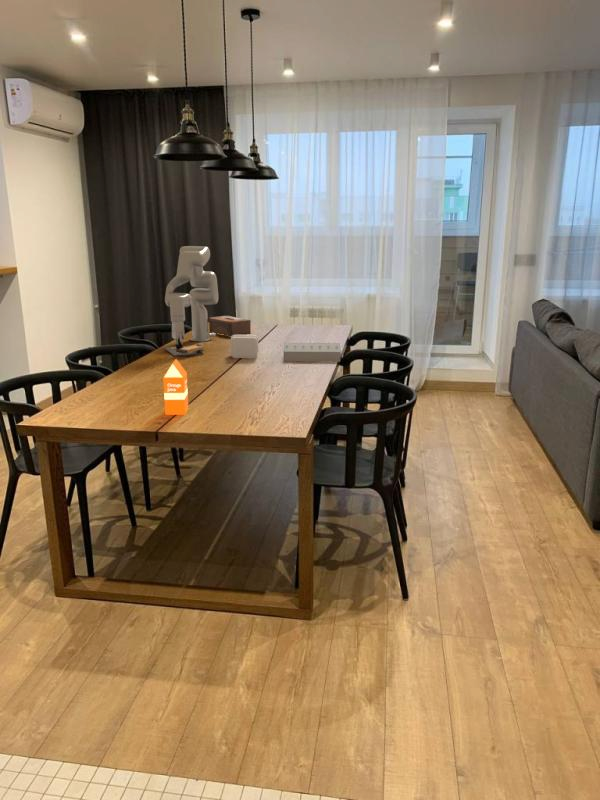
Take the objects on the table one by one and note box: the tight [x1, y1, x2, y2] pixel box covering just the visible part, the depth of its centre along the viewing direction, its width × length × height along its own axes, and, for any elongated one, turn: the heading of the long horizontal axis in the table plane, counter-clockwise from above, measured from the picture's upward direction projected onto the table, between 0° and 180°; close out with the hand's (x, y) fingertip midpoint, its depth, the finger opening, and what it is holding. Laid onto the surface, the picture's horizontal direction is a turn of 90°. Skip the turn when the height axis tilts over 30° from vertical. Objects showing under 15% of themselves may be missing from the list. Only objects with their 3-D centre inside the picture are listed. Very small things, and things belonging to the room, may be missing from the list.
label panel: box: [163, 345, 205, 358], centre depth 352 cm, size 18×24×2 cm
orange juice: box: [162, 358, 189, 416], centre depth 239 cm, size 8×9×20 cm
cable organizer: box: [230, 334, 259, 360], centre depth 338 cm, size 15×11×12 cm
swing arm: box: [176, 343, 205, 354], centre depth 343 cm, size 18×6×2 cm, turn 149°
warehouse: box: [283, 342, 342, 363], centre depth 335 cm, size 30×14×8 cm, turn 89°
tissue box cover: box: [208, 315, 252, 337], centre depth 409 cm, size 26×14×10 cm, turn 42°
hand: (179, 351), depth 342 cm, fingers closed
